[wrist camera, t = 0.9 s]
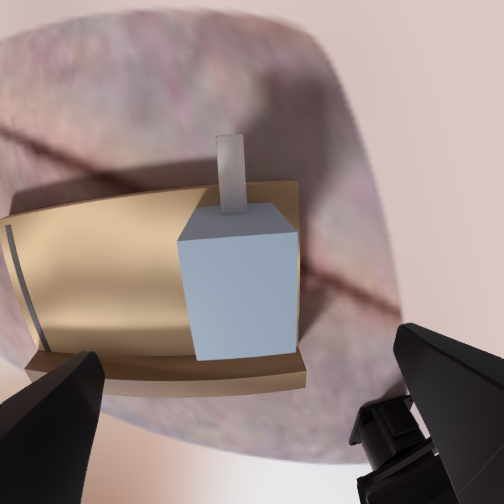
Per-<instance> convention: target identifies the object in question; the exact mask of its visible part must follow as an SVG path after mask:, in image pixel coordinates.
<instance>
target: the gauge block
mask: <svg viewBox="0 0 504 504" xmlns="http://www.w3.org/2000/svg"><path fill="white" fill-rule="evenodd" d="M216 147H217V162H218V177H219V190H220V204H221V206H210V207H199V208H195V210H194V211H193V213H192V215H191V216H190V218H189V220H188V222H187V224H186V225H185V227H184V229H183V231H182V232H181V234H180V236H179V238H178V240H177V248H178V255H179V262H180V269H181V275H182V282H183V288H184V294H185V300H186V306H187V311H188V317H189V322H190V328H191V333H192V338H193V343H194V348H195V353H196V358H197V361H200V360H220V359H234V358H247V357H258V356H268V355H277V354H286V353H294V352H296V337H297V293H298V232H297V231H296V230H295V228H294V227H293V226H292V225H291V224H290V223H289V221H288V220H287V219H286V218H285V217H284V216H283V215H282V213H281V212H280V211H279V210H278V209H277V208H276V207H275V205H274V204H273V203H272V202H266V203H250V204H247V193H246V176H245V159H244V141H243V134H232V135H221V136H216Z"/></svg>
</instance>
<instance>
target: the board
mask: <svg viewBox="0 0 504 504" xmlns="http://www.w3.org/2000/svg"><path fill="white" fill-rule="evenodd" d="M246 193H247V204H250V203H266V202H272V203H273V204H274V205H275V207H276V208H277V209H278V210H279V211H280V212H281V213H282V215H283V216H284V217H285V218H286V219H287V220H288V221H289V223H290V224H291V225H292V226H293V227H294V228H295V230H296V231H297V232H298V293H297V337H296V352H294V353H286V354H277V355H268V356H258V357H247V358H234V359H220V360H200V361H197V358H196V353H195V348H194V343H193V338H192V333H191V328H190V322H189V317H188V311H187V306H186V300H185V294H184V288H183V282H182V275H181V269H180V262H179V255H178V248H177V240H178V238H179V236H180V234H181V232H182V231H183V229H184V227H185V225H186V224H187V222H188V220H189V218H190V216H191V215H192V213H193V211H194V210H195V208H199V207H210V206H221V204H220V190H219V184H212V185H200V186H190V187H180V188H171V189H162V190H153V191H145V192H137V193H130V194H123V195H116V196H109V197H103V198H96V199H90V200H84V201H78V202H73V203H67V204H62V205H56V206H51V207H46V208H41V209H36V210H31V211H27V212H22V213H18V214H13V215H9V216H6V217H4V218H2V219H0V240H1V245H2V249H3V253H4V257H5V261H6V264H7V268H8V271H9V275H10V278H11V281H12V284H13V288H14V291H15V294H16V297H17V299H18V302H19V305H20V308H21V310H22V313H23V316H24V318H25V321H26V323H27V326H28V328H29V331H30V333H31V335H32V338H33V340H34V342H35V344H36V347H37V349H38V351H37V353H36V354H35V355H34V357H33V358H32V359H31V361H30V362H29V363H28V365H27V366H26V367H25V371H26V373H27V375H28V377H29V378H30V380H31V381H32V383H33V382H35V381H36V380H38V379H39V378H41V377H42V376H44V375H45V374H47V373H48V372H50V371H51V370H53V369H55V368H56V367H58V366H59V365H61V364H62V363H64V362H65V361H67V360H69V359H70V358H72V357H73V356H75V355H76V354H78V353H79V352H81V351H83V350H88V351H95V352H96V353H97V355H98V357H99V360H100V362H101V365H102V367H103V369H104V372H105V383H104V389H103V394H107V395H119V396H135V397H167V398H186V397H219V396H235V395H248V394H259V393H269V392H277V391H285V390H293V389H300V388H305V384H306V372H307V371H306V368H305V365H304V362H303V359H302V356H301V353H300V351H299V348H298V334H299V297H300V204H299V182H297V181H295V180H272V181H253V182H246Z"/></svg>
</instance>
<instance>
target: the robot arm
mask: <svg viewBox="0 0 504 504" xmlns="http://www.w3.org/2000/svg"><path fill="white" fill-rule="evenodd" d="M393 352H394V355H395V358H396V360H397V363H398V365H399V368H400V370H401V373H402V375H403V378H404V380H405V383H406V386H407V388H408V390H409V393H410V395H407V396H404V397H401V398H398V399H394V400H391V401H388V402H384V403H381V404H377V405H373V406H370V407H366V408H363V409H361V410H360V411H359V412H358V415H357V418H356V421H355V425H354V428H353V431H352V434H351V437H350V440H349V444H350V445H351V446H352V445H356V444H360V443H362V445H363V448H364V450H365V453H366V455H367V457H368V460H369V462H370V465H371V467H372V470H373V472H371V473H369V474H367V475H365V476H363V477H362V476H361V477H359V478H358V479H357V483H358V484H357V489H358V494H359V498H360V503H361V504H504V359H502V358H501V357H498V356H495V355H493V354H490V353H488V352H485V351H482V350H480V349H477V348H475V347H472V346H470V345H467V344H465V343H462V342H459V341H457V340H454V339H452V338H449V337H446V336H444V335H442V334H439V333H437V332H434V331H431V330H429V329H426V328H424V327H421V326H419V325H416V324H414V323H406V324H401V325H400V326H399V327H398V329H397V333H396V338H395V342H394V346H393ZM104 383H105V372H104V369H103V367H102V365H101V362H100V360H99V357H98V355H97V353H96V352H95V351H88V350H83V351H81V352H79V353H78V354H76V355H75V356H73V357H72V358H70V359H69V360H67V361H65V362H64V363H62V364H61V365H59V366H58V367H56V368H55V369H53V370H51V371H50V372H48V373H47V374H45V375H44V376H42V377H41V378H39V379H38V380H36V381H35V382H33V383H32V384H30V385H28V386H27V387H25V388H24V389H22V390H21V391H19V392H18V393H16V394H15V395H13V396H11V397H10V398H8V399H7V400H6V401H4V402H2V404H0V504H81V498H82V493H83V486H84V481H85V476H86V471H87V467H88V462H89V457H90V453H91V448H92V444H93V440H94V436H95V432H96V428H97V424H98V419H99V414H100V407H101V401H102V395H103V389H104ZM413 402H415V405H416V407H417V409H418V411H419V413H420V414H421V417H422V419H423V421H424V423H425V425H426V427H427V429H428V431H429V433H430V437H429V438H427V439H426V438H425V437H424V435H423V433H422V431H421V430H420V428H419V425H418V423H417V421H416V420H415V418H414V416H413V415H412V413H411V411H410V409H411V406H412V404H413ZM437 452H438V453H439V454H438V455H437V456H435V454H436V453H437Z"/></svg>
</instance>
